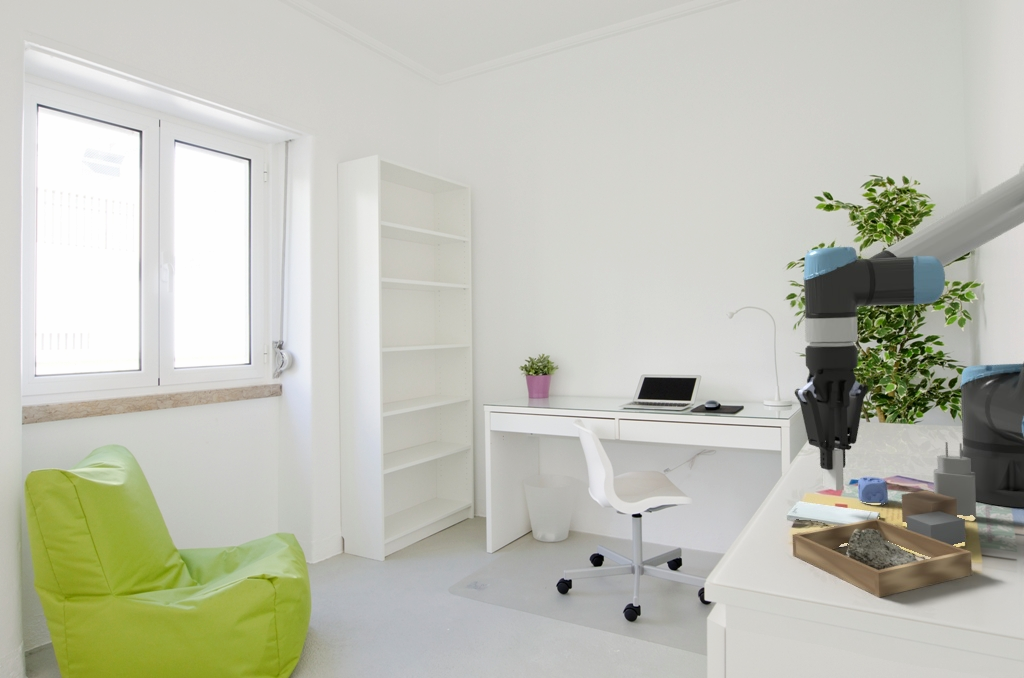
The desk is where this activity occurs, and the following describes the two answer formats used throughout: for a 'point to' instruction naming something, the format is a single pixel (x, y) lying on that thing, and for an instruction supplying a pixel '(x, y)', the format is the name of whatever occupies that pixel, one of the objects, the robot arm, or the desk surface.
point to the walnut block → (927, 504)
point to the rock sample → (876, 550)
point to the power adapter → (956, 481)
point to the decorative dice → (872, 490)
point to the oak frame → (888, 581)
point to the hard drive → (829, 514)
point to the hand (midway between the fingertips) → (833, 488)
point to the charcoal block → (938, 526)
